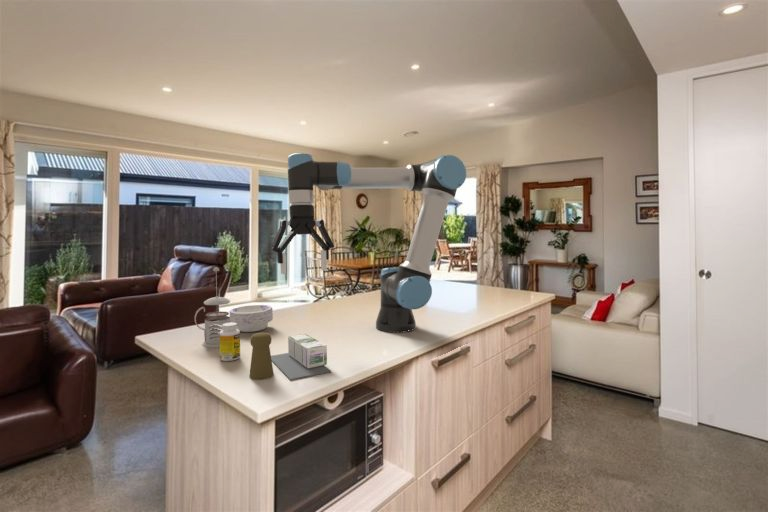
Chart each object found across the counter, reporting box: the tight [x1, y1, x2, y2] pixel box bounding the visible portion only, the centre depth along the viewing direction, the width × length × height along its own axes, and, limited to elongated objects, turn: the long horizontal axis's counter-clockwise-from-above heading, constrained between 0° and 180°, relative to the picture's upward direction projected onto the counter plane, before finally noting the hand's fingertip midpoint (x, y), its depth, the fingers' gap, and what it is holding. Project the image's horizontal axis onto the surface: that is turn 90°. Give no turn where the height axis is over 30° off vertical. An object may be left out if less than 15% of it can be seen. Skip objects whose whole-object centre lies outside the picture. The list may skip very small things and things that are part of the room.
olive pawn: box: [249, 331, 275, 381], centre depth 100 cm, size 6×6×11 cm
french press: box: [194, 266, 231, 348], centre depth 127 cm, size 10×12×25 cm
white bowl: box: [228, 304, 274, 333], centre depth 145 cm, size 15×15×8 cm
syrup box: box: [287, 333, 328, 368], centre depth 111 cm, size 6×6×14 cm
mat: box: [271, 352, 332, 382], centre depth 108 cm, size 20×11×1 cm, turn 32°
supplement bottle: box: [219, 322, 241, 362], centre depth 113 cm, size 6×6×10 cm
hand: (304, 272), depth 123 cm, fingers open, 13 cm apart
